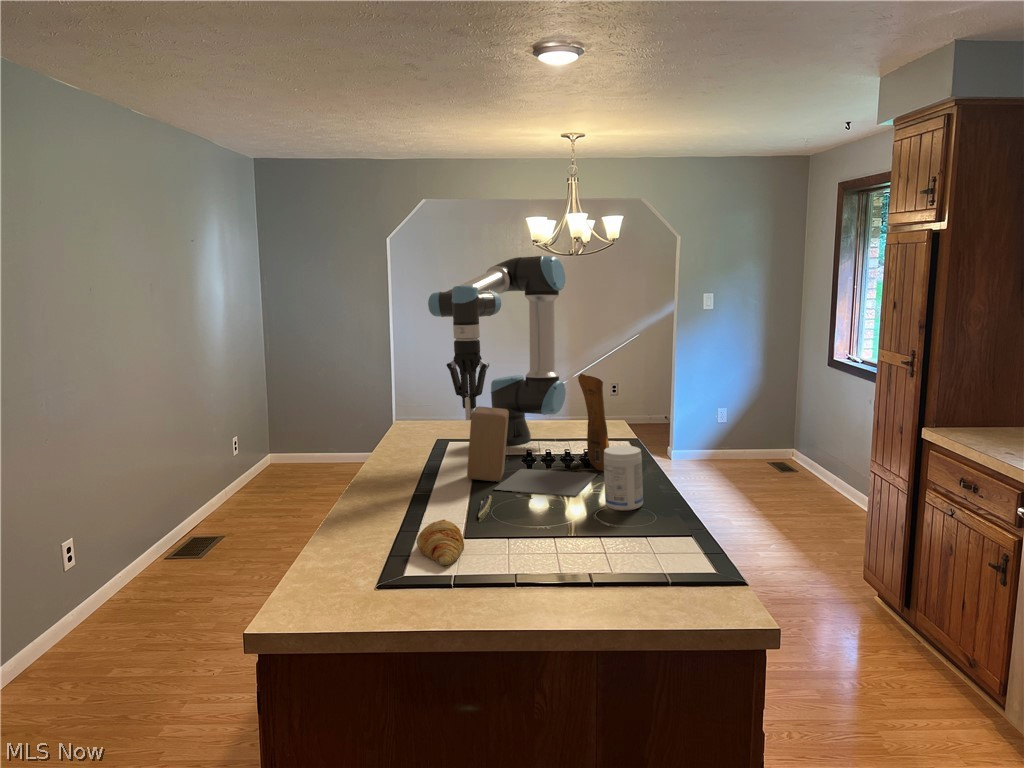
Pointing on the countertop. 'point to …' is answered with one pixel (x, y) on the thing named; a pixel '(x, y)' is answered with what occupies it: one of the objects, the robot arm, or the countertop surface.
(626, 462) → the supplement tub
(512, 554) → the countertop surface
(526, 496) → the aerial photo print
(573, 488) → the mat
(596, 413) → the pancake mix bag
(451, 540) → the croissant
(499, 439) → the wooden block
